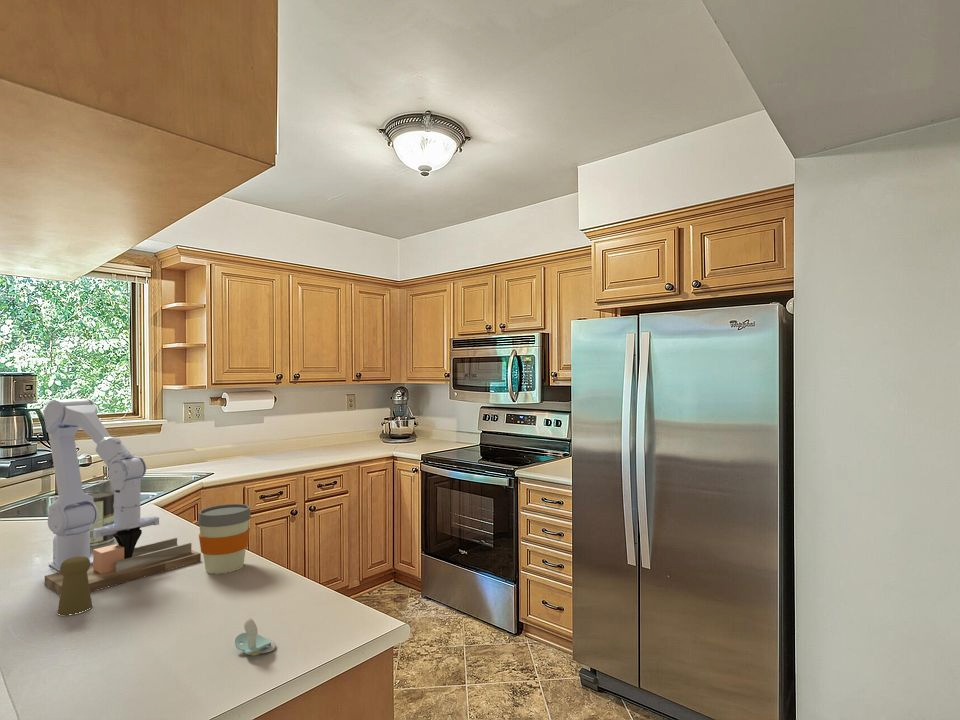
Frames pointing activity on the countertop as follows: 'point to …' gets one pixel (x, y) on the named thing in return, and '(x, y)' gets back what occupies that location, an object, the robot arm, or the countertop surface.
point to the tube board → (136, 565)
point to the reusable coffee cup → (224, 536)
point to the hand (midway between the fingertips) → (127, 559)
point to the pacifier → (253, 640)
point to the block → (107, 558)
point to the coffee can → (102, 516)
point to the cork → (74, 586)
